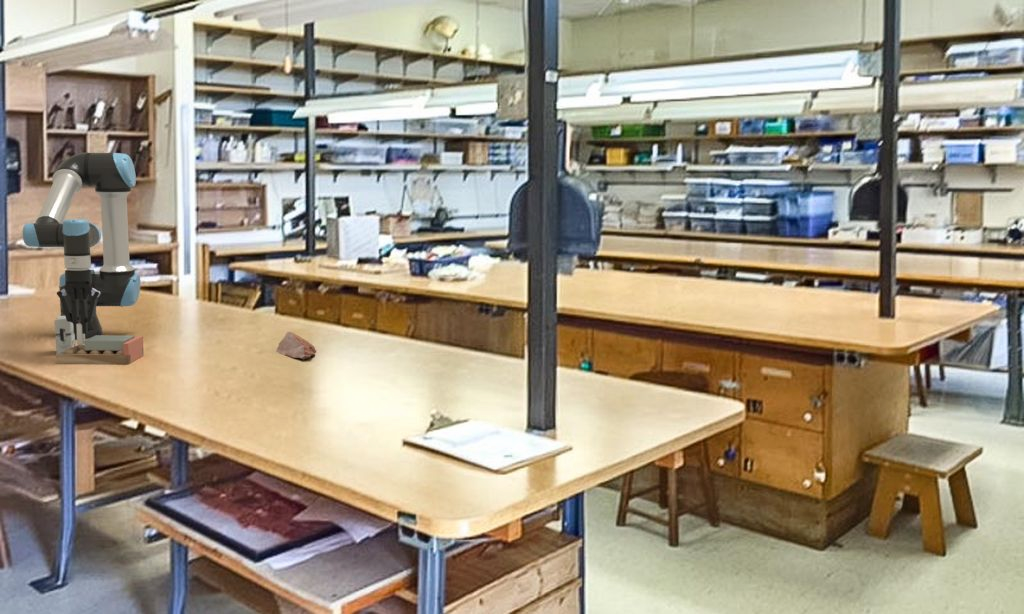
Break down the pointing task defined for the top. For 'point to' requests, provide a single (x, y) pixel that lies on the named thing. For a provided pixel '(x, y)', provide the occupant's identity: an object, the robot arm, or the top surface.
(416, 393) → the top surface
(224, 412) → the top surface
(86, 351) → the roller bed
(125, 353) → the stop rail
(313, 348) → the rock
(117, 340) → the stone slab
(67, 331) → the ink box
